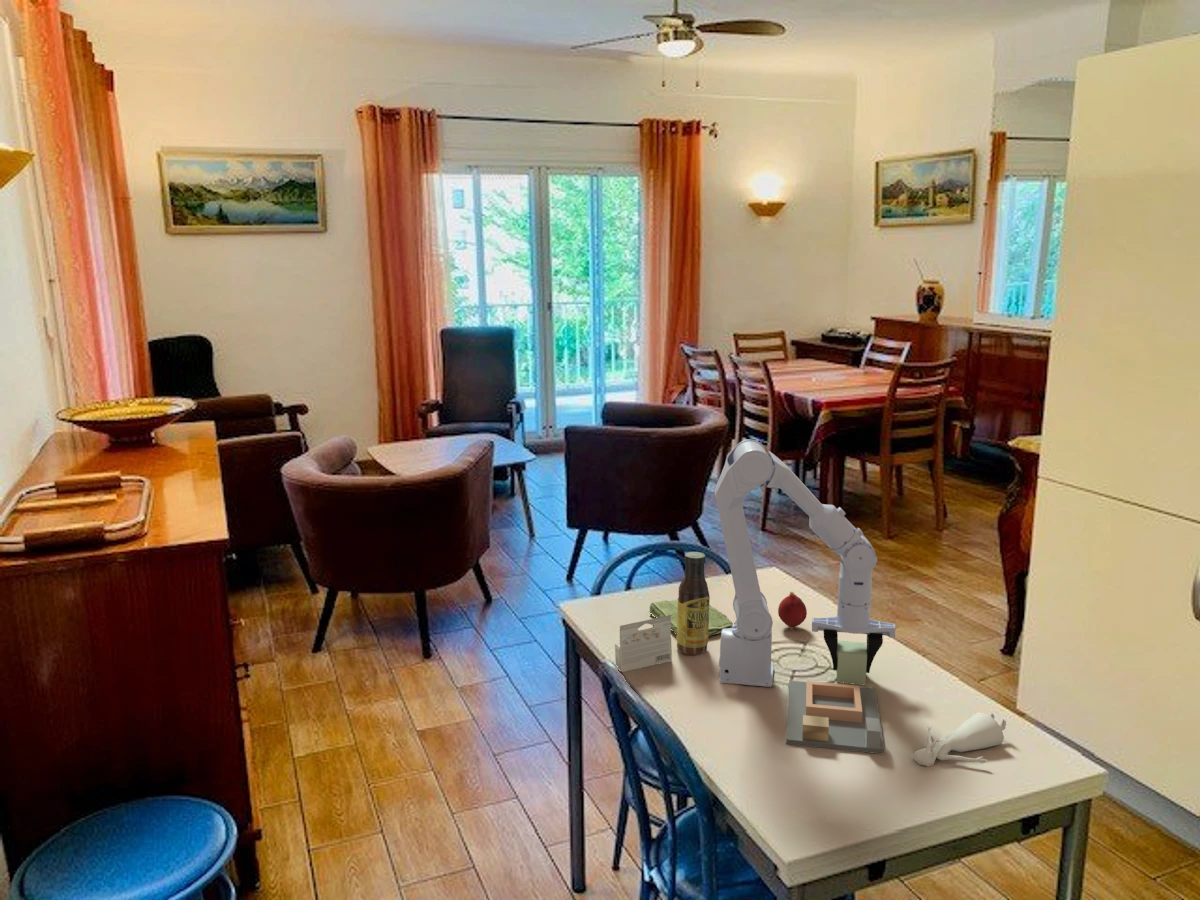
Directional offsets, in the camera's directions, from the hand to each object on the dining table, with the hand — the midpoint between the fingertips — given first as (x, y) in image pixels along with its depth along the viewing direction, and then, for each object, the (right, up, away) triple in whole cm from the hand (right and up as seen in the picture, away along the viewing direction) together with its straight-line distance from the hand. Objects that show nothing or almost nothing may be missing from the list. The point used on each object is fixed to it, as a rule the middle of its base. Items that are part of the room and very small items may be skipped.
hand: (851, 669), depth 161 cm
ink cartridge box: (-38, -1, +7) cm, 39 cm away
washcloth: (-27, +3, +26) cm, 37 cm away
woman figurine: (+10, -7, -23) cm, 26 cm away
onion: (-6, +3, +22) cm, 23 cm away
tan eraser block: (-12, -6, -20) cm, 24 cm away
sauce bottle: (-28, 0, +13) cm, 31 cm away
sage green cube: (0, -2, 0) cm, 2 cm away
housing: (-7, -5, -13) cm, 15 cm away
